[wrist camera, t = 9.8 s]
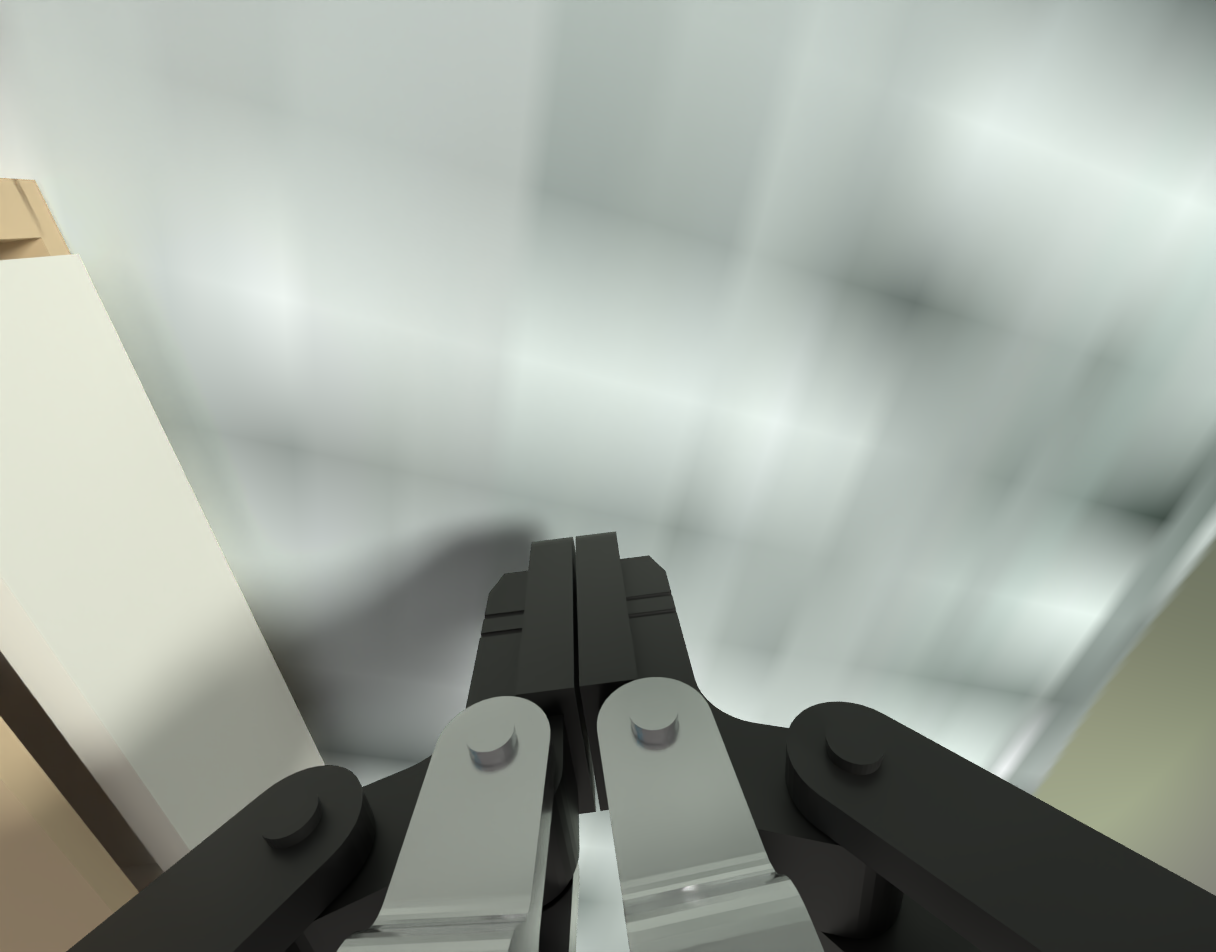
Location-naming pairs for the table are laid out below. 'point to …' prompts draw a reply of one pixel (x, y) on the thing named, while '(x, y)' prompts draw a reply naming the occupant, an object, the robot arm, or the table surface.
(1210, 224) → the table surface
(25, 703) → the tray
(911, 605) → the table surface
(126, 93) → the table surface
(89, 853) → the mailer sleeve
